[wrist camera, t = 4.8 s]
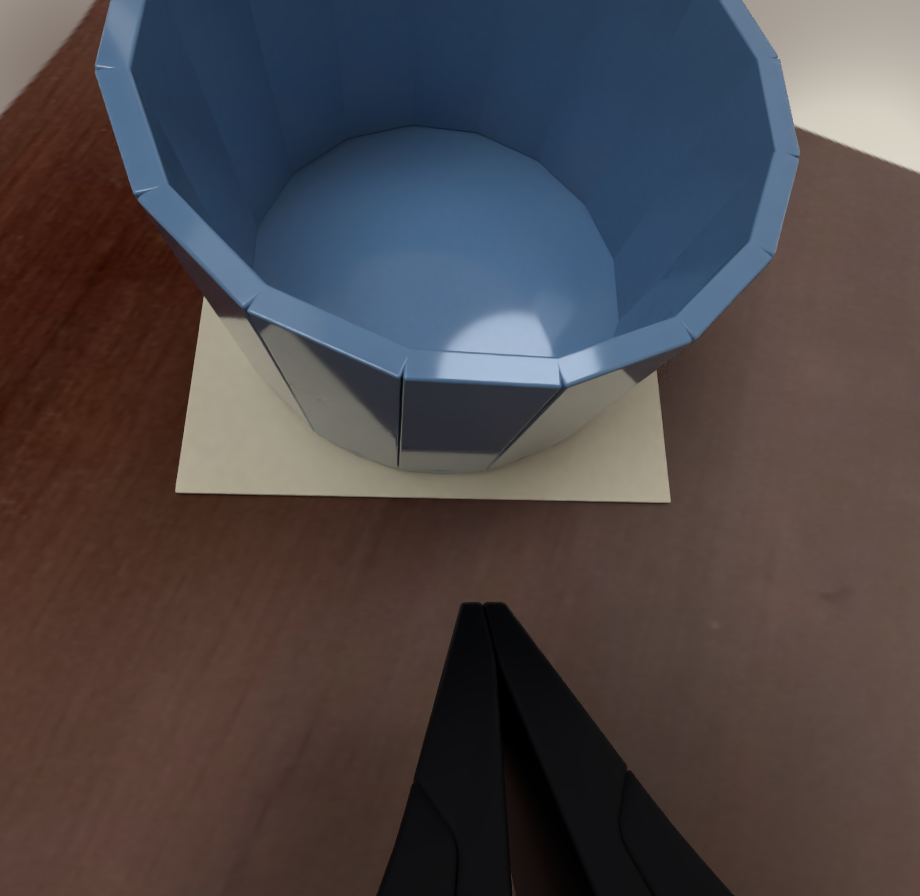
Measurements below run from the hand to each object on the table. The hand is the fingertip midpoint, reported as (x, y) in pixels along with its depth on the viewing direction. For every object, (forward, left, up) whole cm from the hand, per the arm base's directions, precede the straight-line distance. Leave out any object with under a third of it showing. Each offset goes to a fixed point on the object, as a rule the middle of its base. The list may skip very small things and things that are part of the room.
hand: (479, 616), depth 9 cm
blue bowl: (+12, +4, -9) cm, 15 cm away
